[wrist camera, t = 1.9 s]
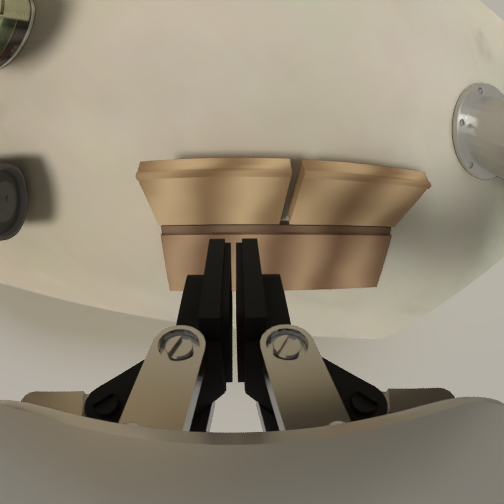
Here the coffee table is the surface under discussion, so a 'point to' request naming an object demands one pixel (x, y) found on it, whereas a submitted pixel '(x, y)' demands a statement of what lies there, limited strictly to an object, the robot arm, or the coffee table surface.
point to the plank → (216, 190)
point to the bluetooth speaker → (12, 200)
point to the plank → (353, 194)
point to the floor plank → (284, 253)
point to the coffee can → (14, 27)
